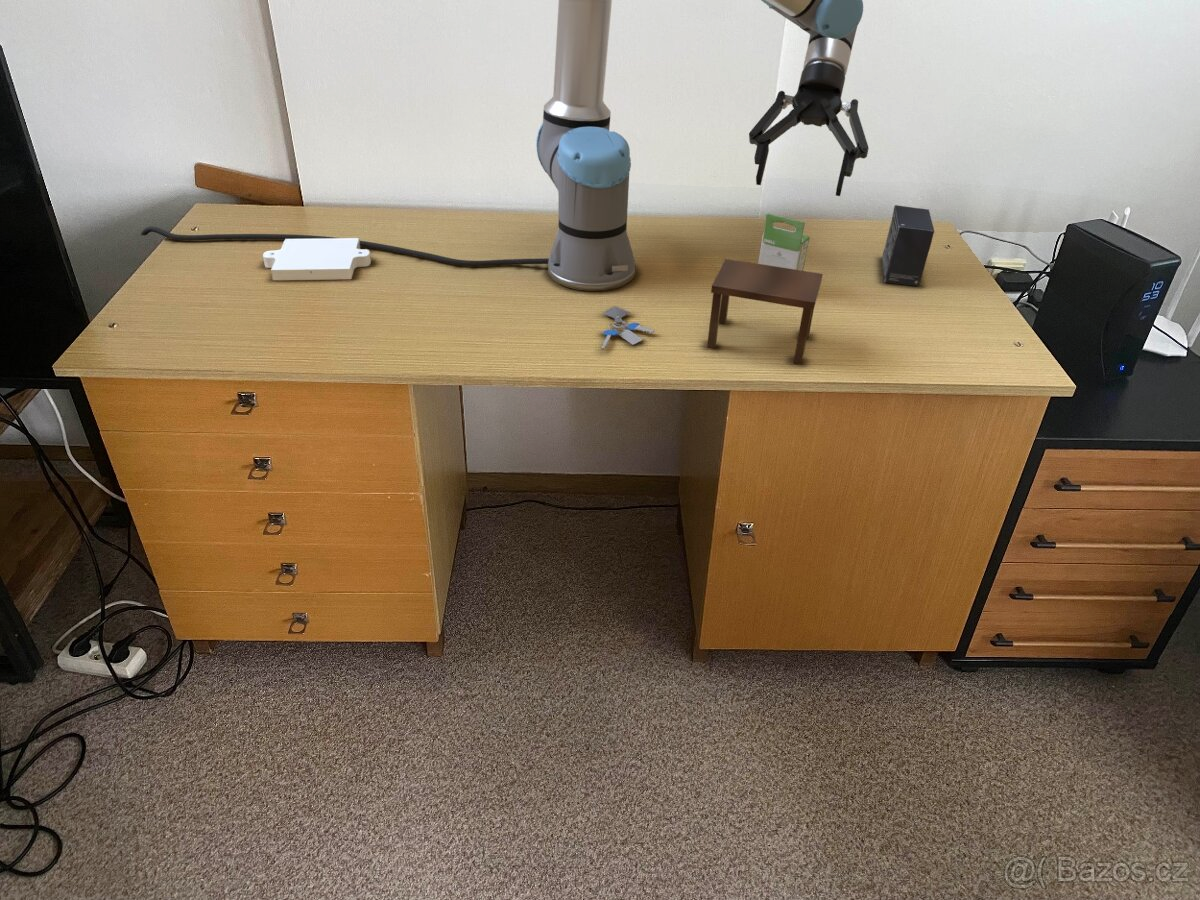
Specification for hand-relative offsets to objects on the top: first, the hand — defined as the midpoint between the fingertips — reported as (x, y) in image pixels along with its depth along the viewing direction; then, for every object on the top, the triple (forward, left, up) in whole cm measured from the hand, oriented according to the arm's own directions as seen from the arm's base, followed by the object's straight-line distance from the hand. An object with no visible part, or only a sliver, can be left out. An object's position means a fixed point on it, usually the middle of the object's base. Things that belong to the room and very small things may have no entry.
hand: (797, 187), depth 150 cm
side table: (0, -28, -15) cm, 32 cm away
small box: (+20, +6, -15) cm, 26 cm away
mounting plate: (-78, -28, -15) cm, 84 cm away
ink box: (0, -9, -15) cm, 18 cm away
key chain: (-20, -32, -15) cm, 41 cm away
